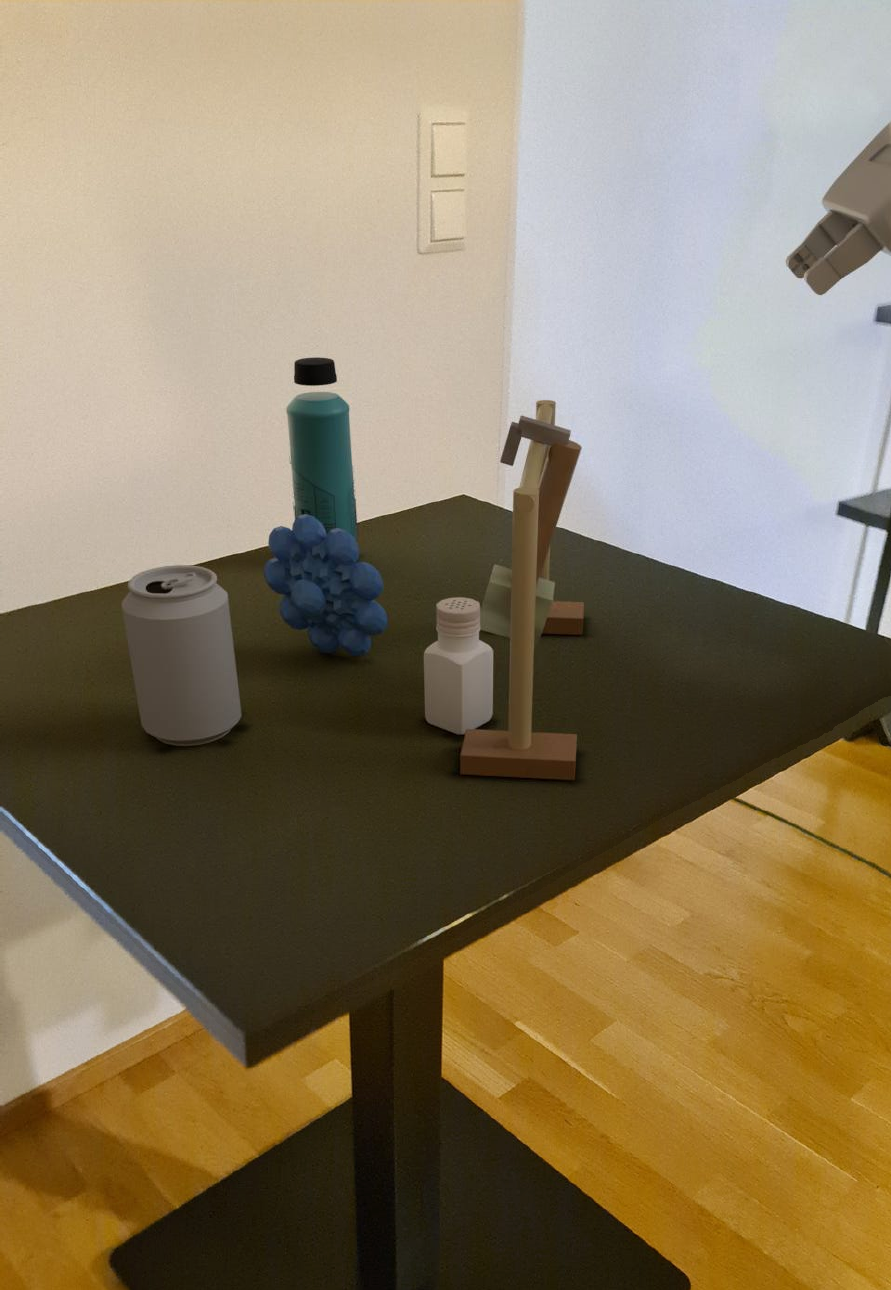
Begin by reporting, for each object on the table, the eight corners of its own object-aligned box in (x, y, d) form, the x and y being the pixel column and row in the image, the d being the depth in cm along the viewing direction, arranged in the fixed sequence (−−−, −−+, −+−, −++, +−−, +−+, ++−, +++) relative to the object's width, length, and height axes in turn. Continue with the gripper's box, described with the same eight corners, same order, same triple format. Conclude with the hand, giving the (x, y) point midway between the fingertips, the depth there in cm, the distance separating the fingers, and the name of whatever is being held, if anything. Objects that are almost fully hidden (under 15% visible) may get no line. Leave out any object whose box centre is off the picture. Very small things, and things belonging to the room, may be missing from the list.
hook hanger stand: (540, 627, 91) (604, 435, 83) (537, 647, 88) (603, 449, 80) (459, 603, 91) (515, 408, 83) (453, 621, 88) (511, 421, 79)
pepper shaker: (462, 739, 84) (461, 619, 79) (422, 724, 86) (419, 606, 81) (495, 720, 87) (497, 603, 82) (455, 705, 89) (455, 590, 84)
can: (136, 715, 88) (111, 567, 82) (232, 699, 90) (214, 554, 84) (150, 758, 82) (124, 602, 76) (252, 740, 84) (235, 587, 78)
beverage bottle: (371, 555, 120) (362, 356, 110) (333, 573, 115) (320, 367, 105) (322, 545, 123) (309, 350, 113) (283, 562, 118) (266, 361, 108)
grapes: (244, 660, 97) (228, 523, 91) (287, 632, 102) (275, 500, 96) (363, 684, 92) (355, 541, 86) (401, 653, 98) (396, 517, 91)
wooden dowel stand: (583, 618, 104) (595, 397, 94) (574, 780, 79) (589, 501, 69) (496, 615, 105) (499, 396, 95) (460, 774, 79) (459, 498, 69)
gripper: (1047, 164, 68) (852, 334, 74) (958, 155, 86) (806, 294, 92) (987, 78, 67) (793, 260, 73) (909, 86, 84) (757, 233, 90)
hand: (800, 279), depth 82 cm, fingers open, 8 cm apart
